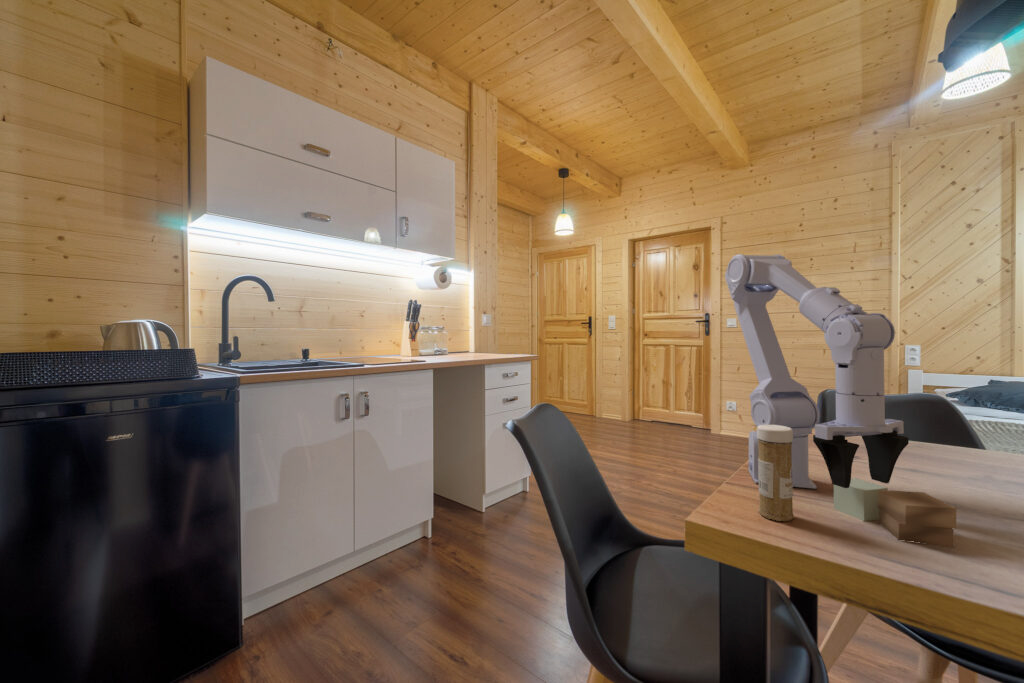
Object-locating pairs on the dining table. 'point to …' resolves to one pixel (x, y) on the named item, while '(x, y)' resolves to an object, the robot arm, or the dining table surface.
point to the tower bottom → (917, 532)
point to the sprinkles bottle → (775, 472)
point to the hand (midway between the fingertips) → (860, 483)
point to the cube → (858, 499)
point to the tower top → (917, 509)
